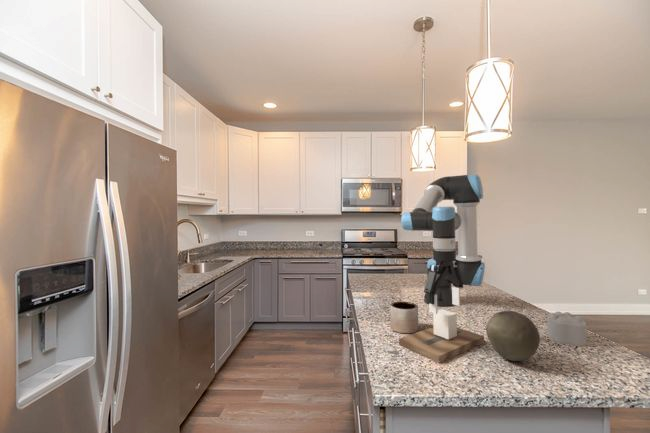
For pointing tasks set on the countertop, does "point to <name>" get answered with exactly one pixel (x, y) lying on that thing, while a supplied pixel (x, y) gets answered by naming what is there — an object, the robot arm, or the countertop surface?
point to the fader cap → (445, 324)
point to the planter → (404, 317)
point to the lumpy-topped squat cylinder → (567, 329)
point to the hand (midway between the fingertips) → (445, 308)
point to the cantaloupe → (513, 335)
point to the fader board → (440, 344)
